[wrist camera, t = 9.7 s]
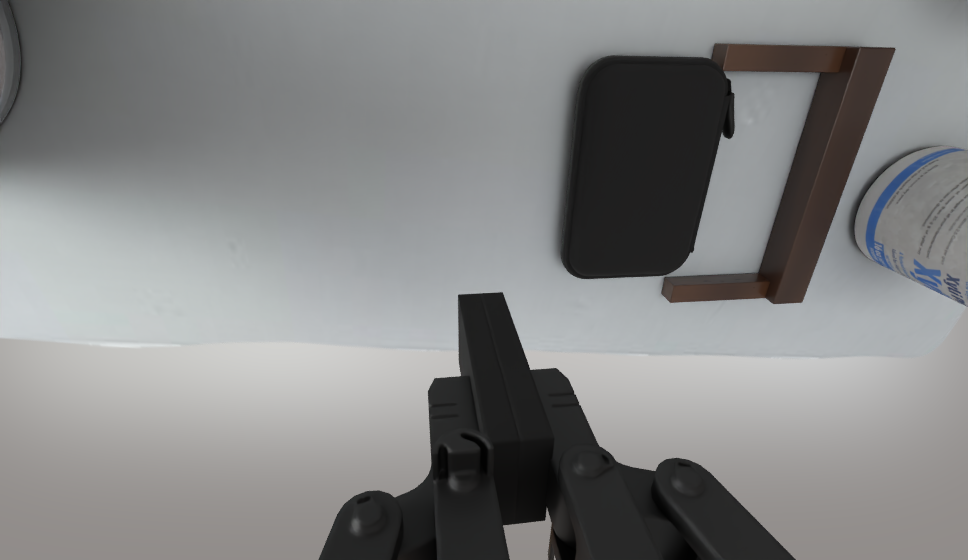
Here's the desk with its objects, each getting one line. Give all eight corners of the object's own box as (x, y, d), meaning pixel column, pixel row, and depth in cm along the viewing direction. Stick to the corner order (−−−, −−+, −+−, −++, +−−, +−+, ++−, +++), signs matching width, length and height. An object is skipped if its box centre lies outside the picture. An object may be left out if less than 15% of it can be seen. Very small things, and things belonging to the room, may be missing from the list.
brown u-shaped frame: (661, 293, 39) (676, 309, 36) (714, 43, 30) (738, 44, 28) (780, 288, 40) (802, 302, 38) (863, 46, 32) (896, 47, 30)
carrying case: (686, 264, 38) (735, 57, 31) (707, 282, 35) (765, 59, 28) (553, 269, 36) (574, 54, 30) (564, 288, 34) (590, 56, 27)
